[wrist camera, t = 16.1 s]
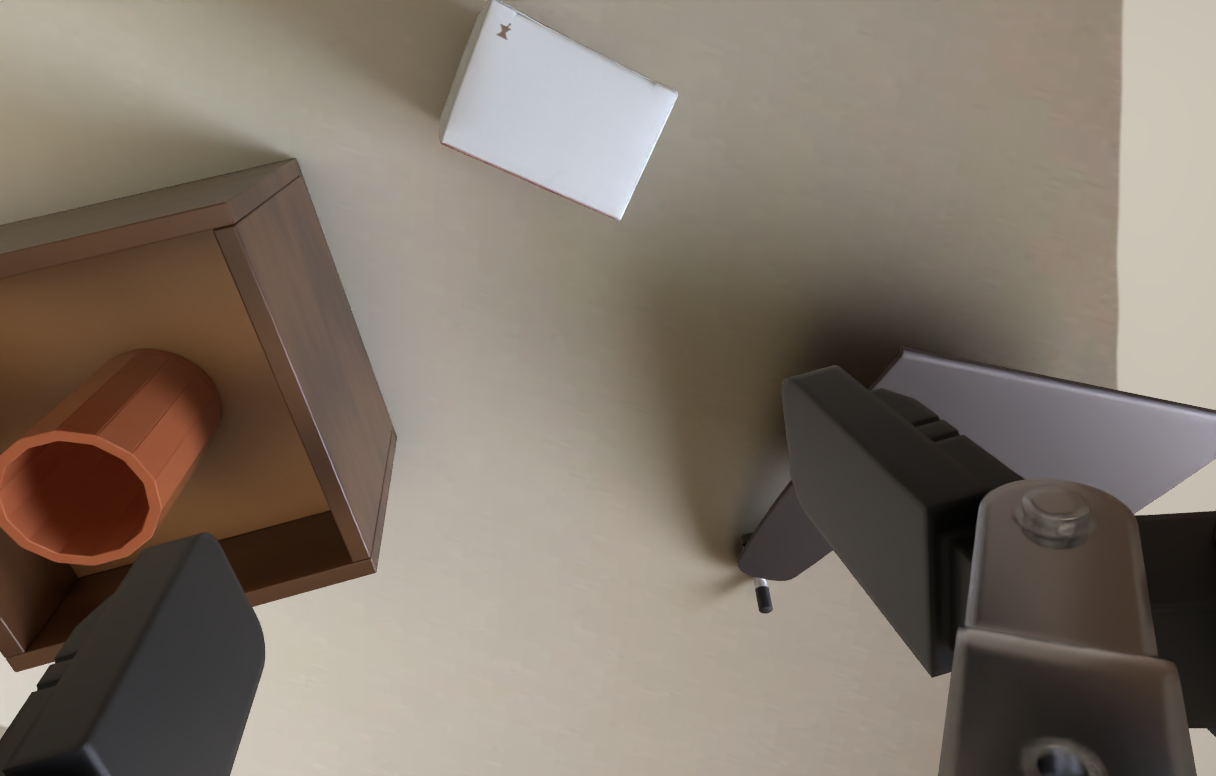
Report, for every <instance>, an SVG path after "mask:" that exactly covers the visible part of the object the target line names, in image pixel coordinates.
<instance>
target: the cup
mask: <svg viewBox="0 0 1216 776" xmlns="http://www.w3.org/2000/svg"><path fill="white" fill-rule="evenodd" d="M221 419H222V404H221V399H220V396H219V393H218V391H217V389H216V387H215V385H214V383H213V382H212V381H211V379H210V378H209V377H208V376H207V374H206V373H205V372H204V371H203V370H201V369H200V368H199V367H198V366H197V365H195V364H194V363H192V362H191V361H189V360H187V359H185V358H183V357H181V356H179V355H176V354H174V353H170V352H166V351H161V350H153V349H142V350H134V351H129V352H126V353H122V354H120V355H118V356H116V357H114V358H112V359H111V360H109V361H107V362H106V363H105V364H104V365H103V366H102V367H100V368H99V369H98V370H97V371H96V372H95V373H94V374H92V375H91V376H90V377H89V378H88V379H87V380H85V381H84V382H83V383H82V384H81V385H80V386H79V387H77V388H76V389H75V390H74V391H73V392H72V393H71V394H69V395H68V396H67V397H66V398H65V399H64V400H62V401H61V402H60V403H59V404H58V405H57V406H56V407H54V408H53V409H52V410H51V411H50V412H49V413H48V414H46V415H45V416H44V417H43V418H42V419H41V420H39V421H38V422H37V423H36V424H35V425H34V426H33V427H31V428H30V429H29V430H28V431H27V432H26V433H25V434H23V435H22V436H21V437H20V438H19V439H18V440H16V441H15V442H14V443H13V444H12V445H11V446H10V447H8V448H7V449H6V450H5V451H4V452H3V453H2V454H0V527H1V528H2V529H3V530H4V531H5V532H6V533H7V534H8V535H9V536H10V537H11V538H12V539H13V540H14V541H15V542H16V543H17V544H18V545H19V546H21V547H22V548H24V549H26V550H29V551H31V552H33V553H36V554H38V555H40V556H42V557H45V558H47V559H49V560H51V561H54V562H57V563H68V564H80V565H91V566H93V565H99V564H102V563H106V562H110V561H114V560H117V559H121V558H125V557H128V556H130V555H131V554H132V553H133V552H135V551H136V550H137V549H138V548H139V547H141V546H142V545H143V544H144V543H145V542H147V541H148V540H149V539H150V538H152V536H153V535H154V533H155V532H156V530H157V529H158V527H159V525H160V524H161V522H162V521H163V519H164V517H165V516H166V514H167V513H168V511H169V510H170V508H171V506H172V505H173V503H174V502H175V500H176V499H177V497H178V495H179V494H180V492H181V491H182V489H183V487H184V486H185V484H186V483H187V481H188V480H189V478H190V476H191V475H192V473H193V472H194V470H195V469H196V467H197V465H198V464H199V462H200V461H201V459H202V457H203V456H204V454H205V453H206V451H207V450H208V448H209V446H210V445H211V443H212V441H213V438H214V436H215V434H216V433H217V431H218V429H219V426H220V423H221Z"/></svg>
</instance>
